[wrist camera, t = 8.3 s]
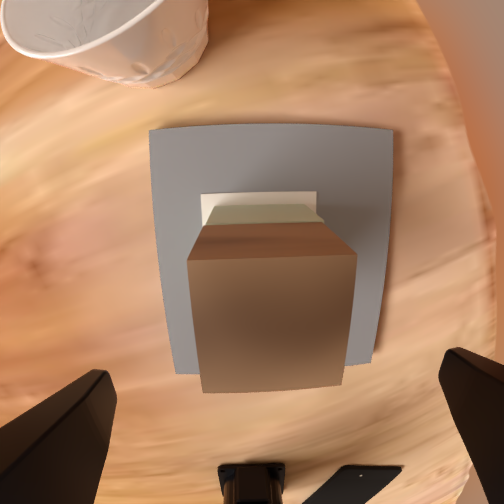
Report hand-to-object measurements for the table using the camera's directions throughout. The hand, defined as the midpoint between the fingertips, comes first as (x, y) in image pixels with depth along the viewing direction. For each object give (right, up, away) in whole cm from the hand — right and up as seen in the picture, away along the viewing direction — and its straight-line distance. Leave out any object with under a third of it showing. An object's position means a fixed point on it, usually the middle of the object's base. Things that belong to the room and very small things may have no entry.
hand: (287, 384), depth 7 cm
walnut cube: (0, +2, +7) cm, 7 cm away
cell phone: (+9, -28, +23) cm, 38 cm away
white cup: (-7, +16, +8) cm, 19 cm away
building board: (+1, +3, +13) cm, 13 cm away
